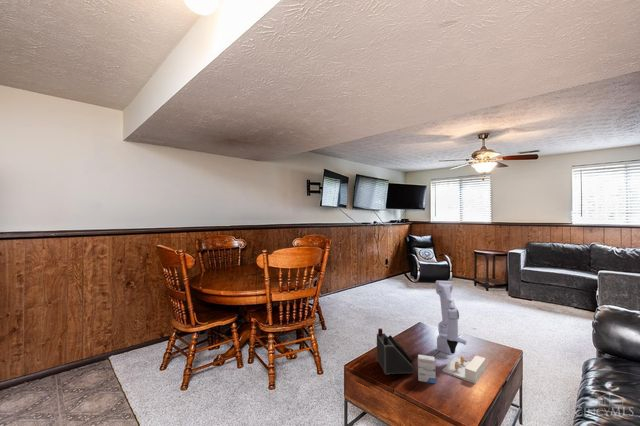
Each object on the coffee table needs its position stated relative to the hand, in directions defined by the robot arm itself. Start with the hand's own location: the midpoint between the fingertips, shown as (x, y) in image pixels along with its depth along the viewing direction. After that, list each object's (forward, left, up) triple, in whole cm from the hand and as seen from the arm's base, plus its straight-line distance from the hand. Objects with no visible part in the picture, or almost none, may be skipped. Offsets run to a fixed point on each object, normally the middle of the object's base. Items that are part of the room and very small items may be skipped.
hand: (452, 353), depth 164 cm
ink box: (-4, -28, -6) cm, 29 cm away
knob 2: (+6, 0, -4) cm, 7 cm away
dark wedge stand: (-22, -29, -6) cm, 37 cm away
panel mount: (+8, -4, -5) cm, 10 cm away
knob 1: (+6, -9, -4) cm, 12 cm away
